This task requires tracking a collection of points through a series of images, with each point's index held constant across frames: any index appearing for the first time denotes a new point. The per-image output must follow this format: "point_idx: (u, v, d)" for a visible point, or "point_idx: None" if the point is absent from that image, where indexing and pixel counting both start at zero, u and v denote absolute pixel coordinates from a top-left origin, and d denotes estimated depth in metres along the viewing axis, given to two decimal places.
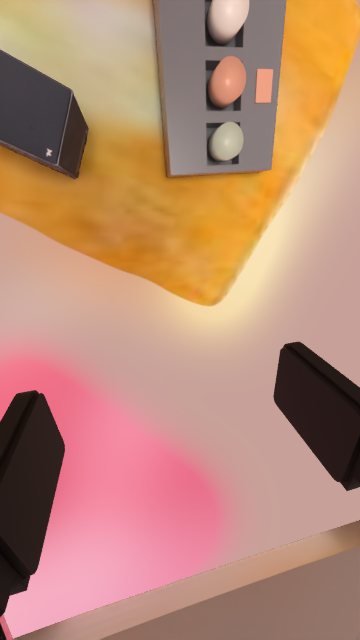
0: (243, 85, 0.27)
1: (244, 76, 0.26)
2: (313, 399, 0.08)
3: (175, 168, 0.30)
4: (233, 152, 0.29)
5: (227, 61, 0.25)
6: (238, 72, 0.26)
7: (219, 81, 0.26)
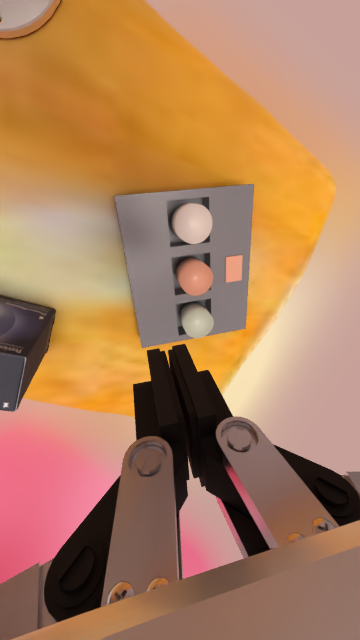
0: (210, 282, 0.26)
1: (211, 275, 0.26)
2: (179, 399, 0.08)
3: (146, 342, 0.30)
4: (203, 332, 0.29)
5: (192, 267, 0.25)
6: (204, 274, 0.25)
7: (185, 283, 0.25)
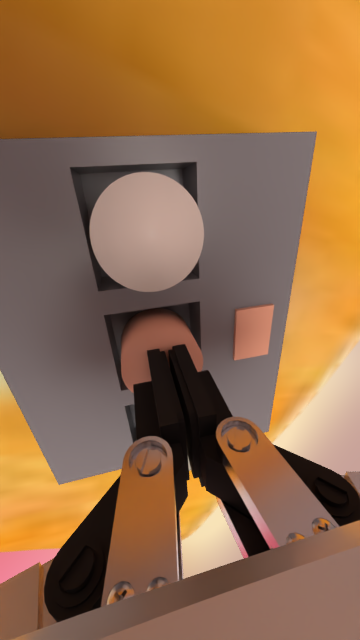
0: (197, 371, 0.11)
1: (198, 357, 0.11)
2: (179, 399, 0.08)
3: (67, 475, 0.14)
4: None
5: (150, 343, 0.10)
6: None
7: (134, 378, 0.10)
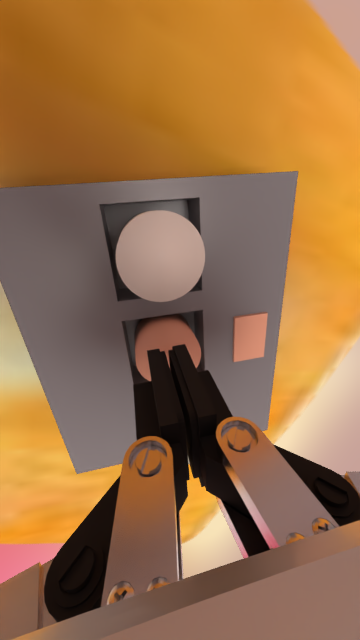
0: (196, 361, 0.13)
1: (197, 349, 0.13)
2: (179, 399, 0.08)
3: (84, 465, 0.16)
4: None
5: (159, 337, 0.12)
6: None
7: (146, 365, 0.13)
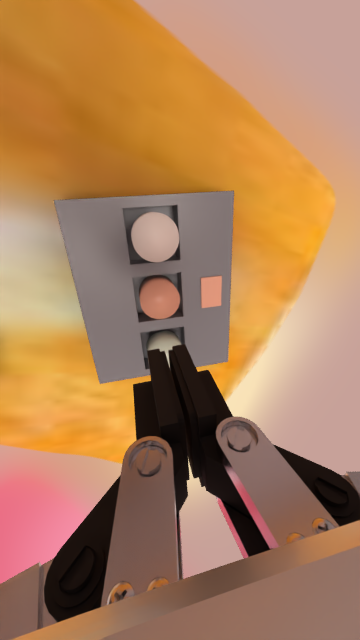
0: (177, 304, 0.22)
1: (177, 296, 0.22)
2: (179, 399, 0.08)
3: (105, 377, 0.25)
4: None
5: (154, 286, 0.21)
6: (169, 294, 0.21)
7: (146, 305, 0.21)
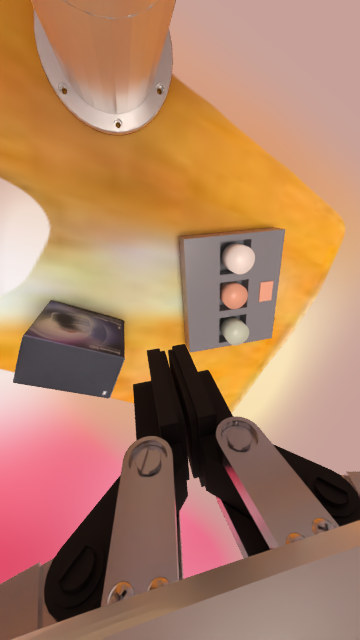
0: (245, 299, 0.35)
1: (246, 294, 0.34)
2: (179, 399, 0.08)
3: (193, 348, 0.37)
4: (240, 340, 0.36)
5: (233, 288, 0.33)
6: (241, 293, 0.34)
7: (227, 300, 0.34)
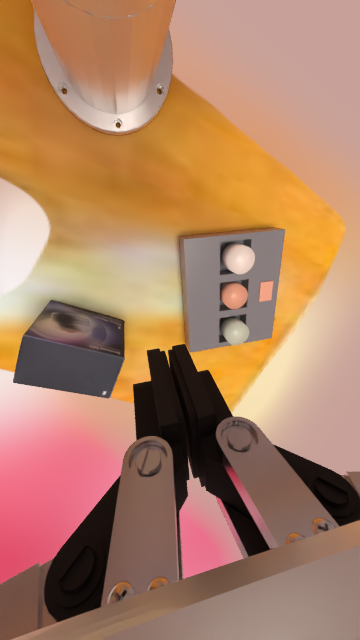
0: (245, 299, 0.35)
1: (246, 294, 0.34)
2: (179, 399, 0.08)
3: (193, 348, 0.37)
4: (240, 340, 0.36)
5: (233, 288, 0.33)
6: (241, 293, 0.34)
7: (227, 300, 0.34)
